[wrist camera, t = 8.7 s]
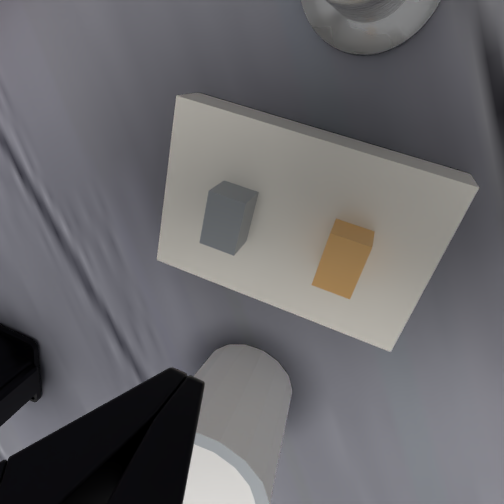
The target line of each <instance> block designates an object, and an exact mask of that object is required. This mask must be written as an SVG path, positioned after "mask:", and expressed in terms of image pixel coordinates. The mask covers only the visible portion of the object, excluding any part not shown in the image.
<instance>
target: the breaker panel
mask: <svg viewBox="0 0 504 504" xmlns="http://www.w3.org/2000/svg"><path fill="white" fill-rule="evenodd" d="M478 189H479V186H478V185H477V183H476V182H475V180H474V179H473V177H472V175H471V174H469V173H466V172H462V171H459V170H456V169H452V168H449V167H445V166H442V165H439V164H435V163H432V162H429V161H425V160H422V159H419V158H415V157H412V156H409V155H405V154H402V153H399V152H395V151H392V150H389V149H385V148H382V147H379V146H375V145H372V144H369V143H365V142H362V141H359V140H355V139H352V138H349V137H345V136H342V135H338V134H335V133H332V132H328V131H325V130H322V129H318V128H315V127H312V126H308V125H305V124H302V123H298V122H295V121H292V120H288V119H285V118H282V117H278V116H275V115H272V114H268V113H265V112H262V111H258V110H255V109H252V108H248V107H245V106H242V105H238V104H235V103H231V102H228V101H225V100H221V99H218V98H215V97H211V96H208V95H205V94H201V93H191V94H184V95H177V96H176V103H175V112H174V120H173V128H172V137H171V145H170V153H169V162H168V170H167V179H166V187H165V195H164V204H163V212H162V220H161V229H160V237H159V245H158V254H157V260H158V261H161V262H163V263H166V264H168V265H171V266H173V267H176V268H178V269H181V270H183V271H186V272H189V273H191V274H194V275H196V276H199V277H201V278H204V279H206V280H209V281H211V282H214V283H217V284H219V285H222V286H224V287H227V288H229V289H232V290H234V291H237V292H239V293H242V294H244V295H247V296H250V297H252V298H255V299H257V300H260V301H262V302H265V303H267V304H270V305H272V306H275V307H277V308H280V309H283V310H285V311H288V312H290V313H293V314H295V315H298V316H300V317H303V318H305V319H308V320H311V321H313V322H316V323H318V324H321V325H323V326H326V327H328V328H331V329H333V330H336V331H338V332H341V333H344V334H346V335H349V336H351V337H354V338H356V339H359V340H361V341H364V342H366V343H369V344H371V345H374V346H377V347H379V348H382V349H384V350H387V351H389V352H391V351H392V349H393V347H394V345H395V343H396V341H397V340H398V338H399V336H400V334H401V332H402V330H403V328H404V327H405V325H406V323H407V321H408V319H409V317H410V315H411V314H412V312H413V310H414V308H415V306H416V304H417V302H418V301H419V299H420V297H421V295H422V293H423V291H424V289H425V288H426V286H427V284H428V282H429V280H430V278H431V276H432V275H433V273H434V271H435V269H436V267H437V265H438V263H439V262H440V260H441V258H442V256H443V254H444V252H445V250H446V249H447V247H448V245H449V243H450V241H451V239H452V237H453V236H454V234H455V232H456V230H457V228H458V226H459V224H460V223H461V221H462V219H463V217H464V215H465V213H466V211H467V210H468V208H469V206H470V204H471V202H472V200H473V198H474V197H475V195H476V193H477V191H478Z"/></svg>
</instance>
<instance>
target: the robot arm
mask: <svg viewBox="0 0 504 504" xmlns="http://www.w3.org/2000/svg"><path fill="white" fill-rule="evenodd" d="M204 387H205V382H204V381H202V380H200V379H198V378H196V377H193V376H187V374H186V373H184V372H182V371H180V370H178V369H176V368H168V369H166V370H164V371H163V372H161V373H159V374H157V375H156V376H154V377H152V378H150V379H148V380H147V381H145V382H143V383H141V384H139V385H138V386H136V387H134V388H132V389H130V390H129V391H127V392H125V393H123V394H121V395H120V396H118V397H116V398H114V399H112V400H111V401H109V402H107V403H105V404H103V405H102V406H100V407H98V408H96V409H95V410H93V411H91V412H89V413H87V414H86V415H84V416H82V417H80V418H78V419H77V420H75V421H73V422H71V423H69V424H68V425H66V426H64V427H62V428H60V429H59V430H57V431H55V432H53V433H51V434H50V435H48V436H46V437H44V438H42V439H41V440H39V441H37V442H35V443H34V444H32V445H30V446H28V447H26V448H25V449H23V450H21V451H19V452H17V453H16V454H14V455H12V456H10V457H9V458H8V461H7V460H3V461H1V462H0V504H183V500H184V495H185V489H186V484H187V478H188V473H189V468H190V462H191V457H192V452H193V446H194V441H195V435H196V430H197V425H198V419H199V414H200V409H201V403H202V398H203V392H204ZM40 398H41V388H40V373H39V357H38V346H37V344H36V343H35V341H33V340H31V339H29V338H27V337H25V336H23V335H21V334H19V333H16V332H14V331H12V330H10V329H8V328H6V327H4V326H1V325H0V426H1V425H3V424H4V423H5V422H6V421H7V420H8V419H9V418H10V417H11V416H12V415H14V414H15V413H16V412H17V411H18V410H19V409H20V408H21V407H22V406H23V405H25V404H26V403H27V402H28V401H29V400H30V401H32V402H37V401H38V400H39V399H40Z"/></svg>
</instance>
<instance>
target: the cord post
mask: <svg viewBox="0 0 504 504" xmlns="http://www.w3.org/2000/svg"><path fill="white" fill-rule="evenodd" d="M440 1H441V0H301V3H302V6H303V10H304V12H305V15H306V17H307V19H308V21H309V23H310V25H311V27H312V28H313V29H314V31H315V32H316V33H317V34H318V35H319V36H320V37H321V38H322V39H323V40H324V41H325V42H326V43H328V44H329V45H331V46H332V47H334V48H336V49H338V50H341V51H344V52H347V53H352V54H357V55H370V54H377V53H381V52H385V51H387V50H390V49H393V48H395V47H397V46H398V45H400V44H402V43H404V42H405V41H406V40H408V39H409V38H411V37H412V36H413V35H414V34H415V33H417V32H418V31H419V30H420V29H421V28H422V27H423V25H424V24H425V23H426V22H427V21H428V20H429V18H430V17H431V15H432V14H433V13H434V11H435V10H436V8H437V6H438V5H439V3H440Z"/></svg>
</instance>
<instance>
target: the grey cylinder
mask: <svg viewBox="0 0 504 504" xmlns="http://www.w3.org/2000/svg"><path fill="white" fill-rule="evenodd" d="M193 377H196V378H198V379H200V380H202V381H204V382H205V387H204V392H203V398H202V403H201V409H200V414H199V419H198V425H197V430H196V435H195V441H194V446H193V452H192V457H191V462H190V468H189V473H188V478H187V484H186V489H185V495H184V500H183V504H270V502H271V497H272V492H273V486H274V481H275V476H276V471H277V466H278V461H279V456H280V451H281V446H282V441H283V436H284V431H285V426H286V421H287V416H288V411H289V406H290V401H291V396H292V387H291V383H290V379H289V376H288V374H287V373H286V371H285V370H284V369H283V367H282V366H281V365H280V363H279V362H278V361H277V360H275V359H274V358H273V357H271V356H270V355H268V354H267V353H266V352H264V351H263V350H260V349H257V348H254V347H251V346H248V345H245V344H228V345H226V346H223V347H221V348H219V349H216V350H215V351H214V352H213V353H212V354H211V356H210V357H209V358H208V359H207V361H206V362H205V363H204V364H203V365H202V367H201V368H200V369H199V370H198V371H197V373H196V374H195V375H194V376H193Z"/></svg>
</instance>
